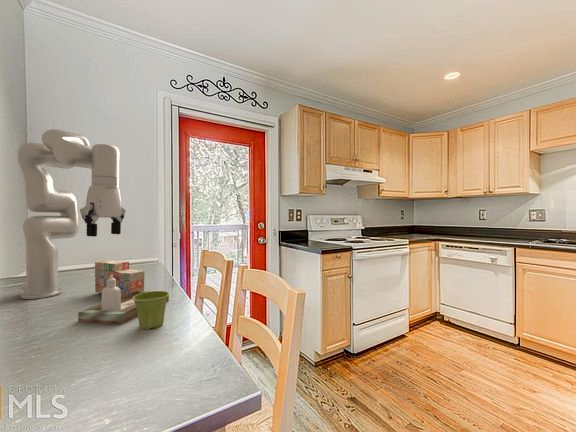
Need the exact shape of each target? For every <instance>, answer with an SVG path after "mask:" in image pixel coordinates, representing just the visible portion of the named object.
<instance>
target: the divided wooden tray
mask: <svg viewBox="0 0 576 432" xmlns="http://www.w3.org/2000/svg"><path fill="white" fill-rule="evenodd" d="M151 291H152V290H150V291H148V290H147V291H146V290H144V291H135V292H131V293H128V294H125V295H122V296H121V310H120V311H118V312H115V311H102V302H101V303H99V304H95V305H93V306H91V307H88V308H85V309H82V310H80V311H78V312H77V314H78V315H77V318H78V321H77V322H78V323H85V324H101V325H102V324H103V325H104V324H105V325H114V326H115V325H117V326H121V325H123V324H126V323H127V322H129V321H131V320H133V319H135V318H138V314H137V308H136V305H135V302H134V300H133V296H135V295H137V294H140V293H145V292H151ZM169 297H170V295H169V296H168V298H167V301H166V302H168V301H170V298H169Z"/></svg>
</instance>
